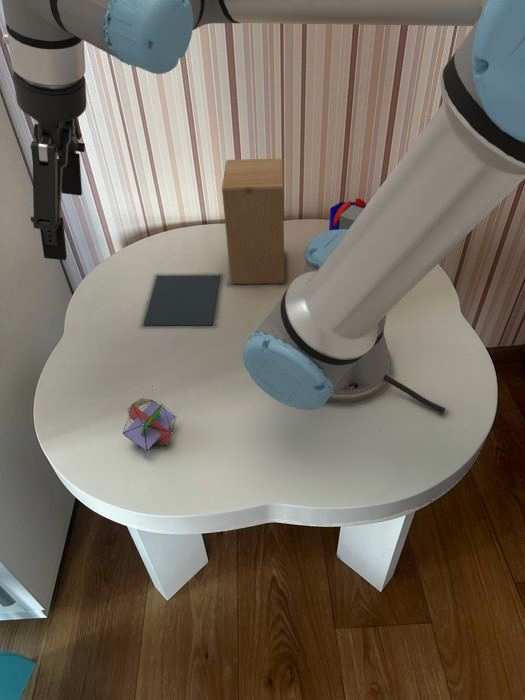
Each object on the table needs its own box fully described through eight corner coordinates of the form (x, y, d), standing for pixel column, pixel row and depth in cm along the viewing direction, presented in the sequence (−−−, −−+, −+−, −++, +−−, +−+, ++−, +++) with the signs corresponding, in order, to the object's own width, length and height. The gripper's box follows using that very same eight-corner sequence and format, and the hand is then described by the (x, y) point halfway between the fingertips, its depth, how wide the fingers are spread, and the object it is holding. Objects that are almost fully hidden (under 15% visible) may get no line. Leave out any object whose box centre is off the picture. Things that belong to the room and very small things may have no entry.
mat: (212, 325, 97) (212, 324, 97) (143, 325, 98) (143, 324, 98) (219, 276, 107) (219, 275, 107) (157, 276, 108) (157, 275, 108)
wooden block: (284, 284, 105) (283, 185, 91) (230, 285, 105) (221, 187, 91) (284, 253, 112) (283, 157, 98) (233, 254, 112) (225, 158, 98)
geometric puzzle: (196, 426, 79) (161, 384, 76) (166, 463, 75) (129, 419, 72) (168, 430, 84) (134, 390, 82) (139, 464, 80) (103, 423, 77)
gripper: (35, 16, 69) (52, 166, 85) (-17, 130, 54) (15, 285, 70) (99, 28, 70) (103, 173, 86) (66, 141, 55) (78, 291, 71)
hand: (64, 223), depth 78 cm, fingers open, 13 cm apart
